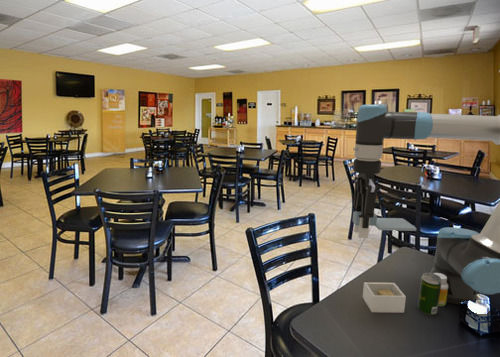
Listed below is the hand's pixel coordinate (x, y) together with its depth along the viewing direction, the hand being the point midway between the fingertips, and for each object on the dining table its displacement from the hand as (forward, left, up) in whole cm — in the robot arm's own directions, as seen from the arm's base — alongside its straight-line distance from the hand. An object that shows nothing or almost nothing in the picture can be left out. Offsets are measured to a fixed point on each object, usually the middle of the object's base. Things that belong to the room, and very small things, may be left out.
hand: (360, 234), depth 96 cm
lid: (-6, 0, +3) cm, 7 cm away
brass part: (-10, 0, -24) cm, 26 cm away
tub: (-9, 0, -24) cm, 26 cm away
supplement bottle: (-28, -2, -25) cm, 37 cm away
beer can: (-22, +2, -25) cm, 33 cm away
